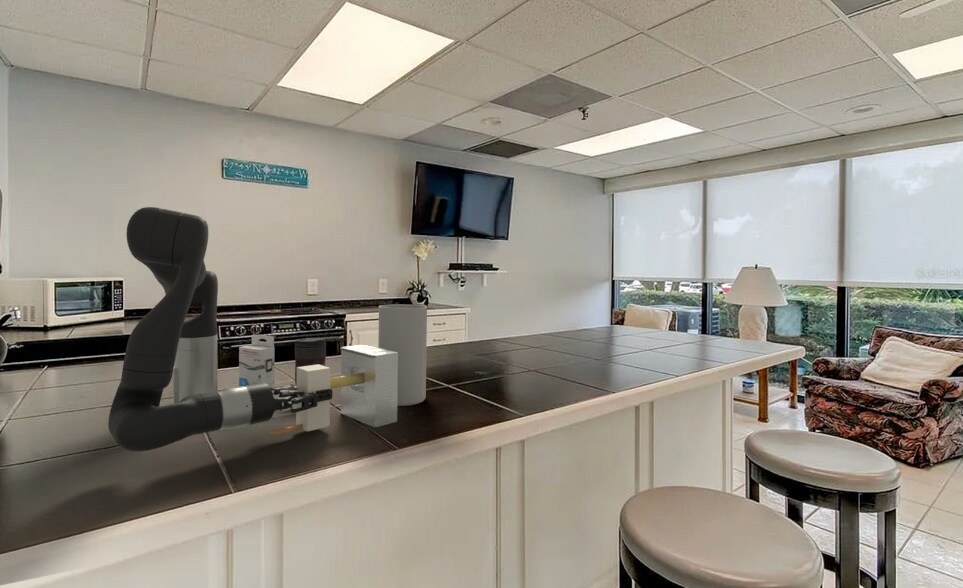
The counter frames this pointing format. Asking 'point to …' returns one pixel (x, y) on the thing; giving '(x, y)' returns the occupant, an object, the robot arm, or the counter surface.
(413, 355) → the cylinder vase
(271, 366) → the ink box
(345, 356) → the block
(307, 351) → the dark lidded canister
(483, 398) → the counter surface
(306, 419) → the plug
